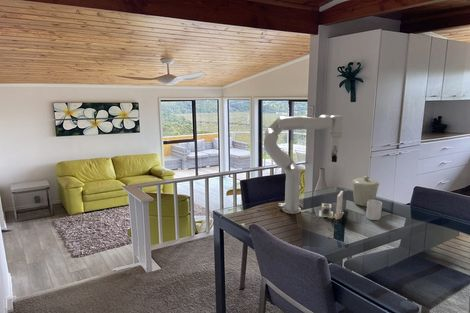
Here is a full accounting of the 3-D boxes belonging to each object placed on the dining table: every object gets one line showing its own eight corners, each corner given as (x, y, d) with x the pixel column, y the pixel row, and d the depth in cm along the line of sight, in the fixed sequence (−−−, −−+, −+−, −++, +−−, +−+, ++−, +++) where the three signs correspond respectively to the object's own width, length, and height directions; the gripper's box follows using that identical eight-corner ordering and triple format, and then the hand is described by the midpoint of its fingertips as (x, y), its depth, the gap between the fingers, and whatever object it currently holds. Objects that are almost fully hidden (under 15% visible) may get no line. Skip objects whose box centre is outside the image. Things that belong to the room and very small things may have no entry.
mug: (380, 222, 212) (382, 206, 209) (365, 219, 216) (366, 203, 213) (380, 214, 223) (382, 199, 220) (366, 212, 226) (368, 197, 223)
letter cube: (321, 215, 221) (321, 206, 219) (321, 211, 226) (322, 203, 225) (330, 216, 219) (331, 207, 218) (330, 212, 225) (331, 204, 223)
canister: (345, 203, 241) (347, 175, 236) (358, 197, 253) (360, 170, 247) (369, 211, 228) (372, 182, 223) (381, 204, 240) (384, 176, 234)
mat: (318, 216, 220) (318, 215, 220) (319, 211, 228) (319, 210, 228) (333, 218, 218) (333, 217, 218) (332, 212, 226) (332, 211, 226)
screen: (332, 218, 218) (334, 195, 213) (337, 212, 227) (338, 190, 223) (339, 220, 215) (341, 196, 211) (343, 213, 225) (345, 191, 220)
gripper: (329, 131, 225) (328, 156, 229) (329, 136, 209) (328, 163, 213) (341, 132, 223) (339, 157, 227) (342, 137, 207) (340, 163, 211)
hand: (333, 159), depth 220 cm, fingers open, 9 cm apart
